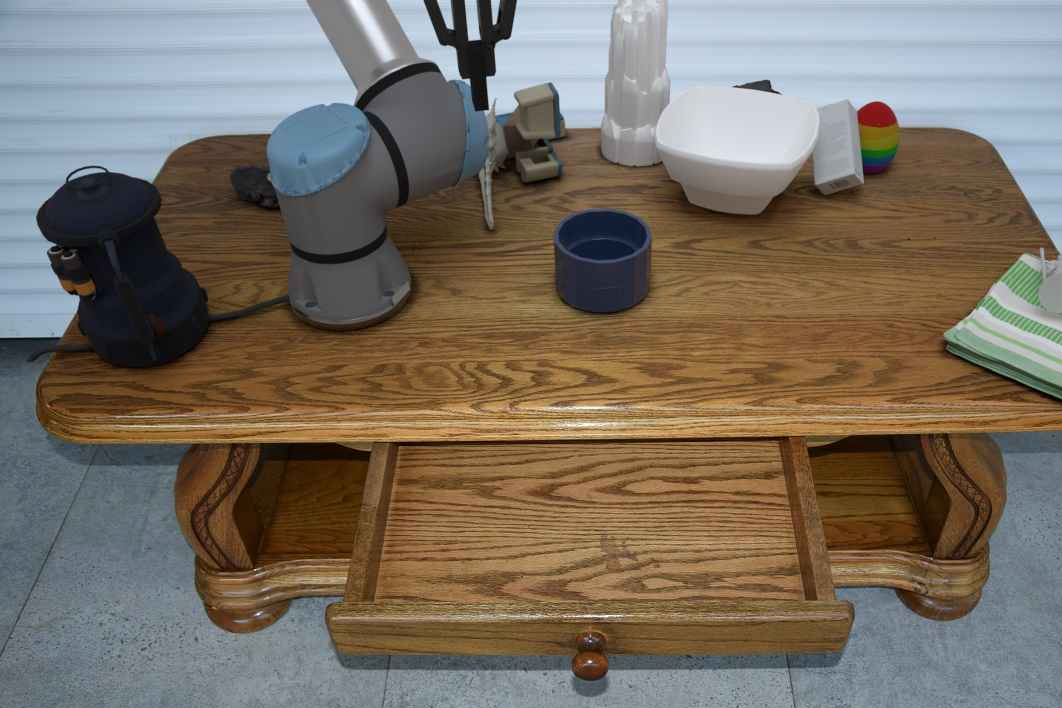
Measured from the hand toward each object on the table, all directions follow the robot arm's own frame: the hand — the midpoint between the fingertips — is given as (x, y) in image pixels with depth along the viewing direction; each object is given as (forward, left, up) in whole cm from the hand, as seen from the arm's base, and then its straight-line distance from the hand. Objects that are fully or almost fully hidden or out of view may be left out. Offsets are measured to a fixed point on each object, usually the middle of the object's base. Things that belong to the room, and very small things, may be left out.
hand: (480, 105), depth 101 cm
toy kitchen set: (+7, +34, -19) cm, 40 cm away
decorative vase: (+27, +34, -27) cm, 51 cm away
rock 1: (-27, +32, -27) cm, 50 cm away
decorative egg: (+60, +21, -26) cm, 69 cm away
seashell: (+3, +28, -26) cm, 39 cm away
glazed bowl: (+14, 0, -26) cm, 30 cm away
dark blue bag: (-44, +11, -15) cm, 48 cm away
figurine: (+64, -21, -21) cm, 71 cm away
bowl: (+37, +17, -26) cm, 48 cm away
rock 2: (+49, +42, -22) cm, 68 cm away
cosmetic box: (+51, +12, -24) cm, 58 cm away
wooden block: (+8, +30, -20) cm, 37 cm away
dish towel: (+64, -22, -26) cm, 72 cm away
